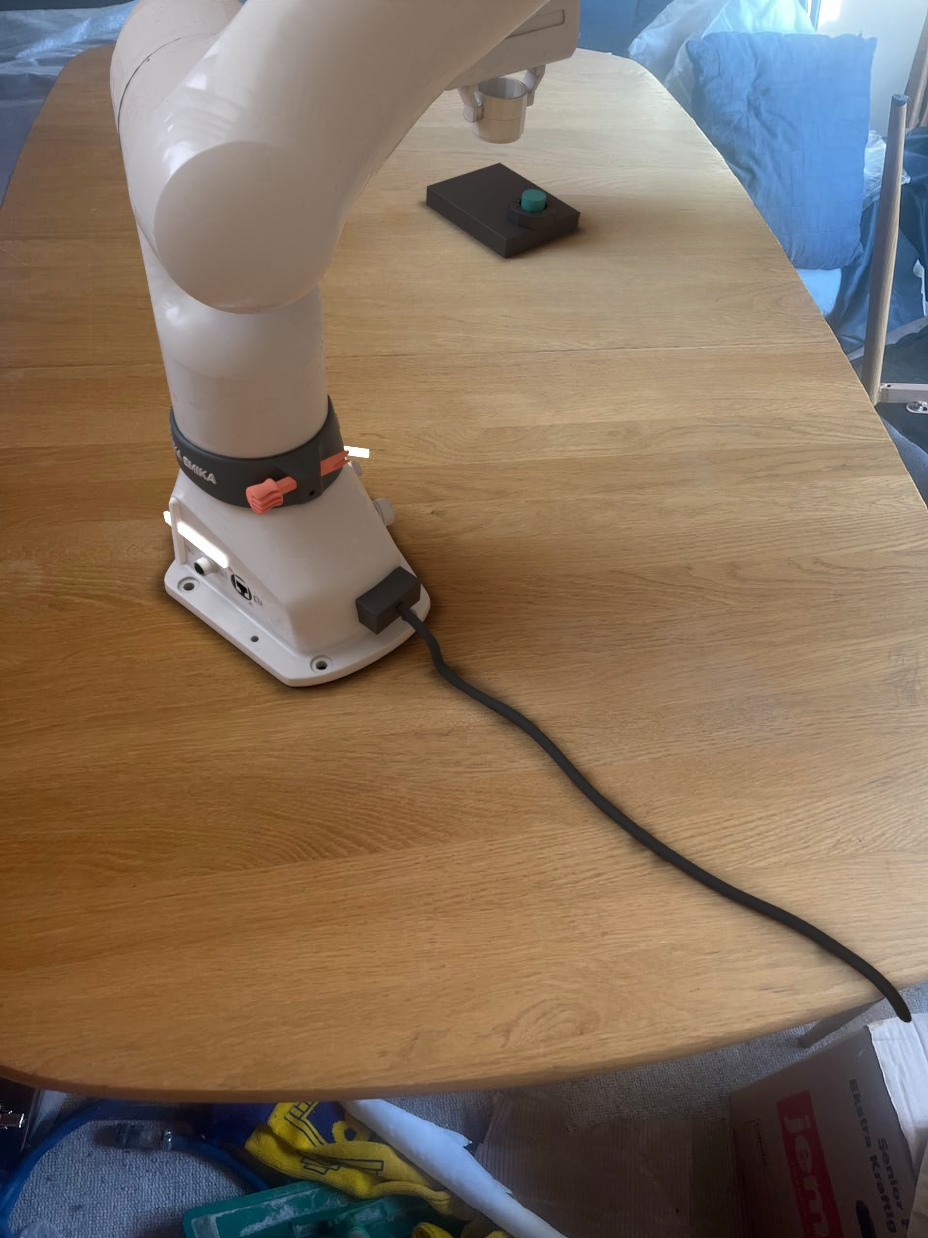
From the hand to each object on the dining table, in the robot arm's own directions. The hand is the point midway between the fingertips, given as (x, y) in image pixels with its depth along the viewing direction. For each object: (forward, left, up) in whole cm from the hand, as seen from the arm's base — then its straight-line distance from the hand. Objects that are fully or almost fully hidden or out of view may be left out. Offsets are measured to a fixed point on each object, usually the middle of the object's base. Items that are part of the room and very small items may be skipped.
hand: (498, 112), depth 111 cm
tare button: (-8, 0, -8) cm, 11 cm away
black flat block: (-2, 0, -12) cm, 12 cm away
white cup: (0, 0, -2) cm, 2 cm away
